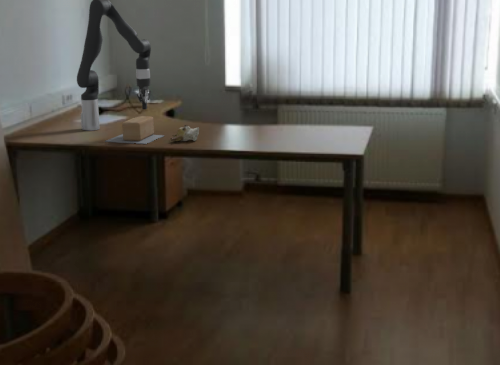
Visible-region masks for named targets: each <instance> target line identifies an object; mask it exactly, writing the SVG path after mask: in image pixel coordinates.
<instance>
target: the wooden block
mask: <svg viewBox="0 0 500 365" xmlns="http://www.w3.org/2000/svg"><path fill="white" fill-rule="evenodd" d="M154 122H155V121H154V117H153V116H146V115H137V116H134V117H133V118H130V119H128V120H125V121H123V122H122V126H121V128H122V134H123V140H125V141H141V140H143V139H145V138H147V137H149V136H151V135H155V126H154V125H155V123H154Z"/></svg>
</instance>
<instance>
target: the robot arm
mask: <svg viewBox="0 0 500 365" xmlns="http://www.w3.org/2000/svg"><path fill="white" fill-rule="evenodd" d="M88 10H89V11H88V21H87V22H88V23H87V28H86V35H85V40H84V44H83V51H82V56H81V61H80V64H79V67H78V72H77V75H76V84H77V85H78V87H79V88H81V89H85V88H86V89H85V91H84V92H83V93H82V94H80V99H81V101H80V102H81V112H80V122H81V123H80V125H81V130H83V131H96V130H100V126H101V125H100V114H99V112H100V110H99V92H100V91H99V89H100V88H99V86H100V85H99V84H100V83H99V76H98V73H97V72H96V71H95V70H93V69H92V70H91V68H92V65H94V62H95V61H96V59H97V58H98V56H99V55H100V54H101V51H102V45H103V42H104V41H103V40H104V39H103V34H102V29H101V24H102V23H101V22H102V18H103V16H106V17H107V18H109V19H110V20H111V21H112V22H113V24H114V26H115V29H116V30H117V32H118V33H119V35H121V37H122V38H124V40H126V42H127V43H128V45H129V46H130V48H131V50H133V52H135V53H136V54H138V57H137V58H136V60H135V66H136V68H135V71H136V72H135V76H136V77H135V78H136V80H135V81H136V86H137V87H138V93H136V96H137V98H138V100H139V102H141V107H142V108H141V109H142V110H147V109H148V101H150V97H151V95H152V94H151V93H152V91H151V90H150V89H149V87H151V85H152V84H151V71H150V57H151V51H152V46H151V43H150V41H149V39H148V40H147V39H139V37H138V33H137V31H136V30H135V29H134V28H133V27H132V26H131V25H130V24H129V23H128V22H127V21H126V20H125V18H123V16H122V15H121V14H120V12H119V11H118V9H117V8H116V7H115V5H114V4H113V3H112V2H111V0H92V1H91V2H90V4H89V9H88Z"/></svg>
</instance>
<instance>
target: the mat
mask: <svg viewBox="0 0 500 365" xmlns="http://www.w3.org/2000/svg"><path fill="white" fill-rule="evenodd" d="M163 137H165V135H163V134H153V135H151V136H149V137H147V138H145V139H143V140H141V141H125V140H123V133H122V134H119V135H117V136H114V137H111V138H109V139H107V140H104V142H105V143H119V144H123V143H124V144H134V143H136V144H137V145H147V143H148V144H150V143H152V142H154V140H155V141H156V139H157V140H159V139H161V138H163ZM158 138H159V139H158Z"/></svg>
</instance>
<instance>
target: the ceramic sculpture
mask: <svg viewBox="0 0 500 365" xmlns="http://www.w3.org/2000/svg"><path fill="white" fill-rule="evenodd" d="M199 132H200V127H195V128H191V127H190V126H189V125H186V124H184V127H179V128H178V129H177V131H176V134H172V137H171V138H170V140H171V141H175V142H187V141H193V142H196V141H197V139H198V136H199Z"/></svg>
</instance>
